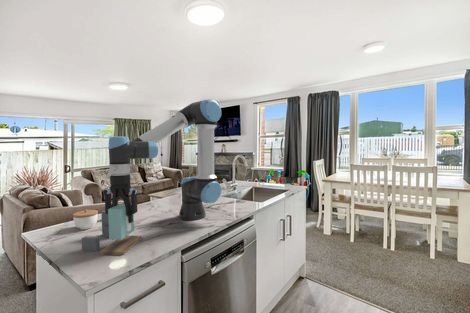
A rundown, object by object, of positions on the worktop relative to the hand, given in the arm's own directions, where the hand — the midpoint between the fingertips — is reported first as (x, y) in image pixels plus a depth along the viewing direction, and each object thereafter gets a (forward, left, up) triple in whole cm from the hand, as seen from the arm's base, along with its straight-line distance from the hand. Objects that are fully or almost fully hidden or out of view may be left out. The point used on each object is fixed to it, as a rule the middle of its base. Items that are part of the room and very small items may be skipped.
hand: (122, 230), depth 98 cm
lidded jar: (+31, -21, -7) cm, 38 cm away
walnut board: (0, 0, -6) cm, 6 cm away
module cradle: (+11, -3, -6) cm, 13 cm away
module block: (0, 0, -2) cm, 2 cm away
